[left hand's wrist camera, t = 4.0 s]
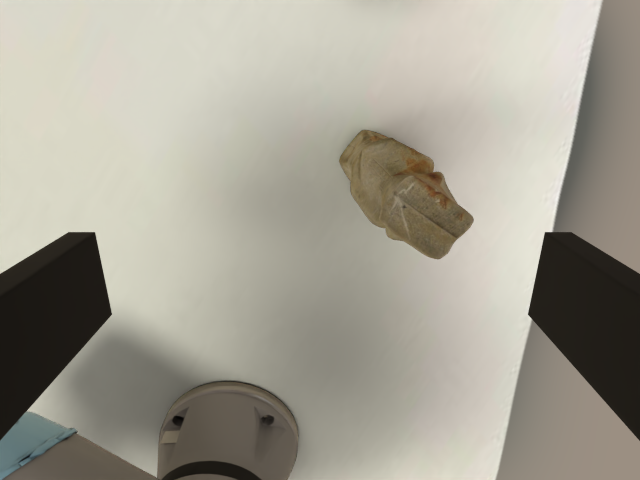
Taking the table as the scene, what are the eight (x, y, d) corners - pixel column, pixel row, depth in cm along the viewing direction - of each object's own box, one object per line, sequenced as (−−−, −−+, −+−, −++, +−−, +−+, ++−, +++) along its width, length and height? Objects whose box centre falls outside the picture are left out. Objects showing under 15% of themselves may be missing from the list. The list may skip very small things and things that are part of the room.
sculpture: (386, 213, 39) (425, 288, 25) (326, 163, 37) (332, 213, 23) (431, 165, 37) (500, 215, 23) (371, 111, 35) (407, 129, 21)
